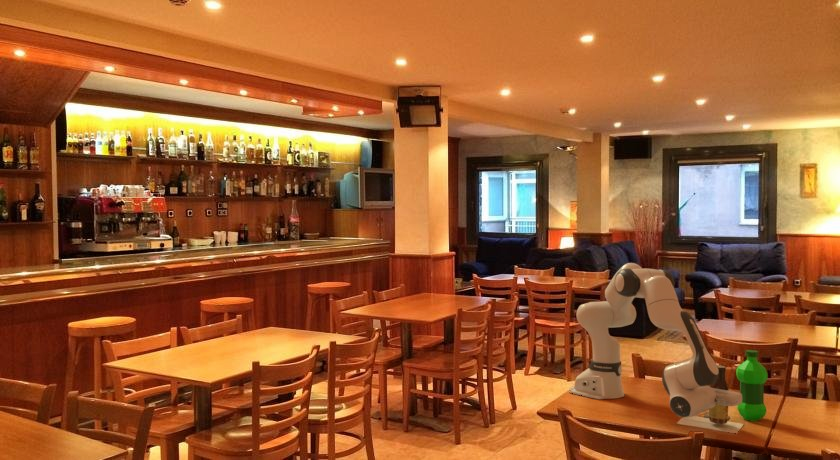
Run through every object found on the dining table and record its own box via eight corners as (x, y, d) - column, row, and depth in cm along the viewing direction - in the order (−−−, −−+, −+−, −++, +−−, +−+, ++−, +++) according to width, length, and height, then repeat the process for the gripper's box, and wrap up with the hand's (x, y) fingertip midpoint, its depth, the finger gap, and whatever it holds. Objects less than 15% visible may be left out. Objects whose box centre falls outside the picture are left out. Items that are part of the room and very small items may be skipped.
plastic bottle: (772, 423, 248) (773, 353, 248) (743, 423, 249) (743, 354, 248) (759, 414, 258) (759, 348, 258) (731, 414, 259) (731, 348, 258)
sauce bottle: (729, 425, 242) (731, 369, 241) (710, 424, 243) (712, 368, 242) (725, 419, 248) (727, 364, 248) (706, 418, 250) (708, 363, 249)
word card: (703, 417, 256) (703, 416, 256) (706, 413, 260) (706, 412, 260) (726, 420, 251) (726, 419, 251) (729, 417, 256) (729, 416, 255)
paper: (676, 423, 249) (676, 422, 249) (685, 415, 258) (685, 414, 258) (736, 433, 237) (736, 432, 237) (743, 424, 247) (743, 423, 247)
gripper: (732, 394, 229) (750, 386, 238) (674, 383, 244) (692, 376, 253) (732, 413, 229) (750, 405, 238) (674, 401, 244) (692, 393, 254)
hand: (720, 390), depth 246 cm, fingers closed on sauce bottle, 6 cm apart
